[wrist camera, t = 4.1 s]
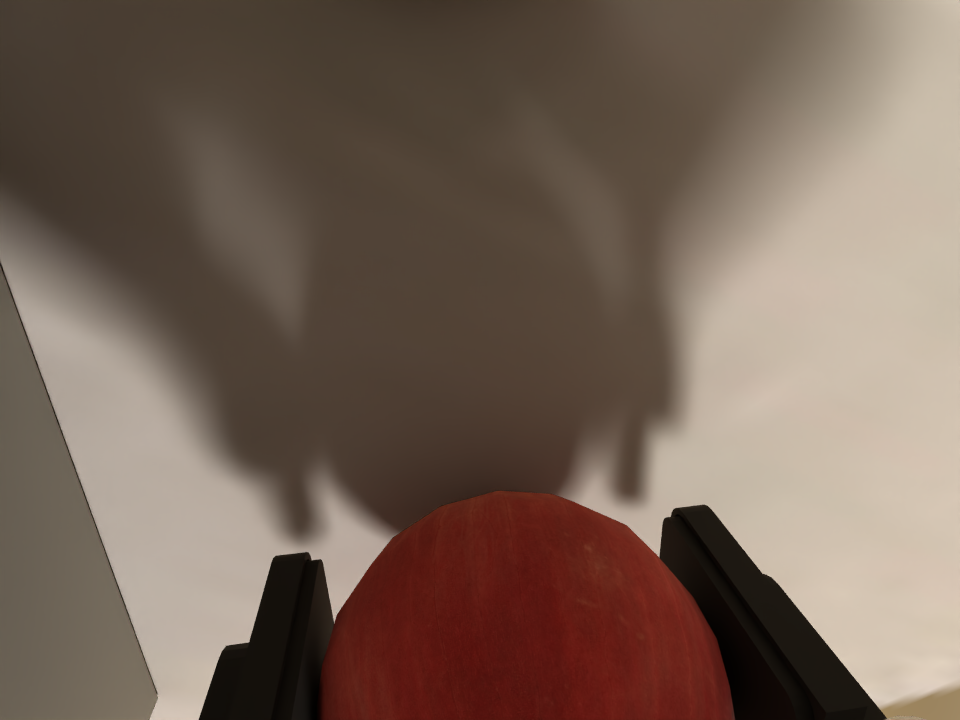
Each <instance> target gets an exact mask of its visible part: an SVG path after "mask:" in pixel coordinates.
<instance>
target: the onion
mask: <svg viewBox="0 0 960 720" xmlns="http://www.w3.org/2000/svg"><path fill="white" fill-rule="evenodd" d="M316 720H735V716H734V710H733V704H732V698H731V691H730V685H729V682H728V678H727V674H726V671H725V667H724V663H723V660H722V656H721V652H720V649H719V645H718V641H717V638H716V637H715V635H714V633H713V631H712V630H711V628H710V626H709V624H708V622H707V621H706V619H705V617H704V615H703V613H702V612H701V610H700V608H699V606H698V605H697V603H696V601H695V599H694V597H693V596H692V595H691V594H690V593H689V591H688V590H687V589H686V588H685V587H684V586H683V585H682V583H681V582H680V581H679V580H678V579H677V578H676V577H675V575H674V574H673V573H672V572H671V571H670V570H669V568H668V567H667V566H666V565H665V564H664V563H663V562H662V560H661V559H660V558H659V557H658V556H657V555H656V554H655V553H654V552H653V551H652V550H651V549H650V548H649V547H648V546H647V545H646V544H645V543H644V542H643V541H642V540H641V539H640V538H639V537H638V536H637V535H636V534H635V533H634V532H633V531H632V530H631V529H630V528H629V527H628V526H627V525H625V524H622V523H620V522H618V521H616V520H613V519H611V518H609V517H607V516H604V515H602V514H600V513H598V512H595V511H593V510H591V509H589V508H586V507H584V506H582V505H579V504H577V503H575V502H572V501H570V500H567V499H564V498H562V497H559V496H556V495H554V494H547V493H530V492H513V491H495V492H491V493H487V494H484V495H480V496H476V497H473V498H469V499H465V500H462V501H458V502H454V503H450V504H447V505H443V506H440V507H439V508H437V509H436V510H434V511H433V512H431V513H430V514H428V515H427V516H425V517H424V518H422V519H421V520H419V521H418V522H416V523H414V524H413V525H411V526H410V527H408V528H407V529H405V530H404V531H402V532H401V533H399V534H398V535H396V536H395V537H393V538H392V539H391V541H390V542H389V543H388V544H387V546H386V547H385V548H384V549H383V551H382V552H381V553H380V554H379V556H378V557H377V558H376V559H375V560H374V562H373V563H372V564H371V566H370V567H369V569H368V570H367V571H366V573H365V574H364V576H363V577H362V579H361V580H360V582H359V583H358V585H357V586H356V588H355V589H354V591H353V592H352V594H351V595H350V596H349V598H348V599H347V601H346V602H345V604H344V605H343V607H342V608H341V610H340V611H339V613H338V614H337V617H336V620H335V623H334V627H333V630H332V634H331V637H330V640H329V644H328V647H327V651H326V654H325V657H324V661H323V664H322V670H321V678H320V685H319V693H318V700H317V719H316Z"/></svg>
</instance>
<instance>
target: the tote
mask: <svg viewBox="0 0 960 720" xmlns="http://www.w3.org/2000/svg"><path fill="white" fill-rule="evenodd" d="M157 699H158V697H157V694H156V691H155V688H154V686H153V683H152V680H151V677H150V675H149V672H148V669H147V666H146V664H145V661H144V658H143V655H142V653H141V650H140V647H139V644H138V642H137V639H136V636H135V634H134V631H133V628H132V625H131V623H130V620H129V617H128V614H127V612H126V609H125V606H124V603H123V601H122V598H121V595H120V592H119V590H118V587H117V584H116V581H115V579H114V576H113V573H112V571H111V568H110V565H109V562H108V560H107V557H106V554H105V551H104V549H103V546H102V543H101V540H100V538H99V535H98V532H97V529H96V527H95V524H94V521H93V518H92V516H91V513H90V510H89V507H88V505H87V502H86V499H85V497H84V494H83V491H82V488H81V486H80V483H79V480H78V477H77V475H76V472H75V469H74V466H73V464H72V461H71V458H70V455H69V453H68V450H67V447H66V444H65V442H64V439H63V436H62V434H61V431H60V428H59V425H58V423H57V420H56V417H55V414H54V412H53V409H52V406H51V403H50V401H49V398H48V395H47V392H46V390H45V387H44V384H43V381H42V379H41V376H40V373H39V370H38V368H37V365H36V362H35V360H34V357H33V354H32V351H31V349H30V346H29V343H28V340H27V338H26V335H25V332H24V329H23V327H22V324H21V321H20V318H19V316H18V313H17V310H16V307H15V305H14V302H13V299H12V297H11V294H10V291H9V288H8V286H7V283H6V280H5V277H4V275H3V272H2V269H1V266H0V720H149V719H150V716H151V714H152V711H153V709H154V707H155V704H156V702H157Z"/></svg>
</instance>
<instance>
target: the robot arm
mask: <svg viewBox="0 0 960 720" xmlns="http://www.w3.org/2000/svg"><path fill="white" fill-rule="evenodd" d="M660 559H661V560H662V562H663V563H664V564H665V565H666V566H667V567H668V568H669V570H670V571H671V572H672V573H673V574H674V575H675V577H676V578H677V579H678V580H679V581H680V582H681V583H682V585H683V586H684V587H685V588H686V589H687V590H688V591H689V593H690V594H691V595H692V596H693V597H694V599H695V601H696V603H697V605H698V606H699V608H700V610H701V612H702V613H703V615H704V617H705V619H706V621H707V622H708V624H709V626H710V628H711V630H712V631H713V633H714V635H715V637H716V638H717V641H718V645H719V649H720V652H721V656H722V660H723V663H724V667H725V671H726V674H727V678H728V682H729V685H730V691H731V698H732V704H733V710H734V716H735V720H925V719H922V718H918V717H912V716H911V717H910V716H895V717H892V718H889V719H887V718H886V717H885V715H884V714H883V713H882V712H881V710H880V709H879V708H878V707H877V705H876V704H875V703H874V702H873V701H872V699H871V698H870V697H869V696H868V694H867V693H866V692H865V691H864V689H863V688H862V687H861V686H860V685H859V683H858V682H857V681H856V680H855V678H854V677H853V676H852V675H851V673H850V672H849V671H848V670H847V668H846V667H845V666H844V665H843V664H842V662H841V661H840V660H839V659H838V657H837V656H836V655H835V654H834V652H833V651H832V650H831V649H830V648H829V646H828V645H827V644H826V643H825V641H824V640H823V639H822V638H821V636H820V635H819V634H818V633H817V632H816V630H815V629H814V628H813V627H812V625H811V624H810V623H809V622H808V620H807V619H806V618H805V617H804V615H803V614H802V613H801V612H800V611H799V609H798V608H797V607H796V606H795V604H794V603H793V602H792V601H791V599H790V598H789V597H788V596H787V595H786V593H785V592H784V591H783V590H782V588H781V587H780V586H779V585H778V584H777V583H776V582H775V581H774V580H773V579H772V578H771V577H769V576H767V575H765V574H762V573H761V571H760V570H759V569H758V568H757V566H756V565H755V564H754V562H753V561H752V560H751V559H750V557H749V556H748V555H747V554H746V552H745V551H744V550H743V549H742V547H741V546H740V545H739V544H738V542H737V541H736V540H735V539H734V537H733V536H732V535H731V534H730V532H729V531H728V530H727V529H726V527H725V526H724V525H723V524H722V522H721V521H720V520H719V518H718V517H717V516H716V515H715V513H714V512H713V511H712V510H711V509H710V508H709V507H708V506H706V505H698V506H690V507H681V508H675V509H674V510H673V511H672V514H671V517H667V518H665V519H664V521H663V527H662V537H661V547H660ZM333 627H334V621H333V615H332V610H331V604H330V599H329V594H328V588H327V583H326V577H325V572H324V567H323V562H322V560H321V559H320V560H311V556H310V554H309V553H308V552H304V553H296V554H288V555H279V556H275V557H274V558H273V560H272V563H271V567H270V570H269V574H268V577H267V581H266V584H265V588H264V592H263V595H262V599H261V602H260V606H259V609H258V613H257V617H256V620H255V624H254V627H253V631H252V634H251V638H250V642H249V643H243V644H235V645H229V646H226V647H225V648H224V649H223V651H222V653H221V655H220V657H219V660H218V663H217V666H216V669H215V672H214V675H213V678H212V681H211V684H210V687H209V690H208V693H207V696H206V699H205V702H204V705H203V708H202V711H201V715H200V718H199V720H316V719H317V700H318V693H319V685H320V678H321V670H322V664H323V661H324V657H325V654H326V651H327V647H328V644H329V640H330V637H331V634H332V630H333Z"/></svg>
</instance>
